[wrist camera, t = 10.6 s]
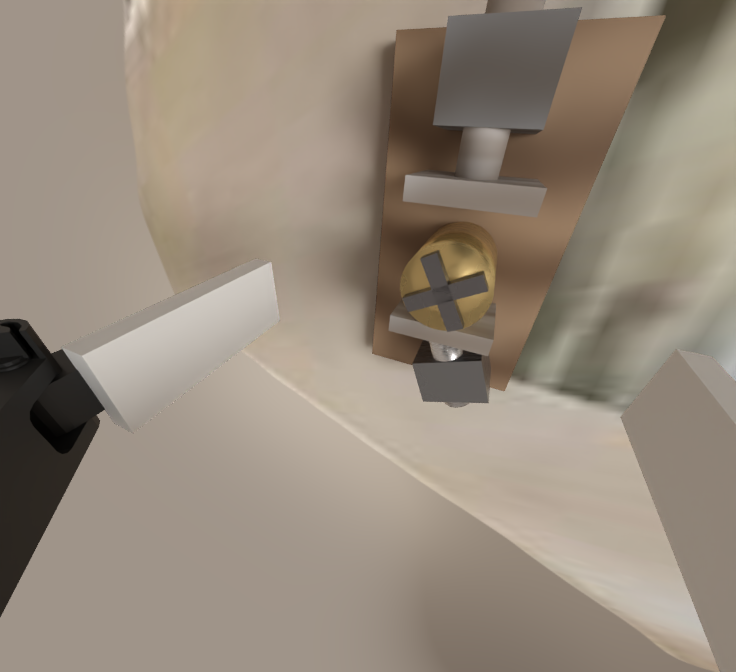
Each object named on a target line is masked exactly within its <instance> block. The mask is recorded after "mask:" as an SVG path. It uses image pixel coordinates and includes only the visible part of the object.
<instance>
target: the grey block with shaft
mask: <svg viewBox="0 0 736 672" xmlns="http://www.w3.org/2000/svg"><path fill="white" fill-rule="evenodd" d="M412 364H413V368H414V371H415V375H416V378H417V382H418V385H419V389H420V392H421V396H422V399H423V401H427V402H445V404H446V405H448V406H450V407H463V406H465V405H467V404H469V403H489V390H490V376H491V365H490V358H489V355H488V356H485V355H481V354H477V353H473V352H469V351H465V350H461V349H457V348H454V347H450V346H446V345H442V344H438V343H434V342H430V341H426V340H423V341H422V343H421V345H420V348H419V350H418V352H417V354H416V356H415V359H414V361H413V363H412Z"/></svg>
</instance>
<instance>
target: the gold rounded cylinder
mask: <svg viewBox="0 0 736 672" xmlns="http://www.w3.org/2000/svg"><path fill="white" fill-rule="evenodd" d="M496 266H497V248H496V244H495V242H494V240H493V238H492V236H491V235H490V234H489V233H488V232H487V231H486V230H485V229H484V228H482V227H481V226H479V225H477V224H474V223H471V222H463V221H462V222H454V223H450V224H447V225H445V226H443V227H441V228H440V229H438V230H437V231H436V232H435V233H434V234H433V235H432V236H431V237H430V238H429V240H428V241H427V242H426V243H425V244H424V245H423V246H422V247H421V249H420V250H419V251H418V252H417V253H416V254H415V255H414V256H413V258H412V259H411V260H410V261H409V262H408V264H407V265H406V267H405V269H404V271H403V273H402V276H401V281H400V292H401V297H402V300H403V303H404V305H405V307H406V309H407V311H408V312H409V313H410V314H411V315H412V316H413V317H414V318H415V319H416V320H417V321H419V322H420V323H422V324H423V325H425V326H427V327H430V328H433V329H436V330H441V331H447V332H451V331H455V330H460V329H464V328H466V327H469V326H471V325H473V324H474V323H476V322H477V321H478V320H480V319H481V318H482V317H483V316H484V315H485V313H486V312H487V311H488V309H489V307H490V305H491V303H492V300H493V296H494V287H495V276H496Z"/></svg>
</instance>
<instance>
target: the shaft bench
mask: <svg viewBox="0 0 736 672" xmlns="http://www.w3.org/2000/svg"><path fill="white" fill-rule="evenodd" d="M544 3H545V0H488V2H487V7H486V12H485V14H473V15H458V16H448V22H447V27H443V28H425V29H407V30H397V32H396V45H395V59H394V72H393V85H392V98H391V111H390V125H389V138H388V151H387V164H386V177H385V191H384V204H383V217H382V230H381V243H380V257H379V270H378V283H377V296H376V309H375V323H374V336H373V349H372V354H376V355H379V356H383V357H386V358H390V359H393V360H397V361H400V362H404V363H407V364H411V365H413V364H412V363H413V361H414V359H415V356H416V354H417V352H418V350H419V348H420V345H421V343H422V341H423V340H426V341H430V342H434V343H438V344H442V345H446V346H450V347H454V348H457V349H461V350H465V351H469V352H473V353H477V354H481V355H485V356H488V355H489V358H490V365H491V376H490V387H491V388H494V389H498V390H501V391H505V389H506V387H507V384H508V382H509V380H510V377H511V375H512V373H513V370H514V368H515V366H516V363H517V361H518V359H519V356H520V354H521V352H522V349H523V347H524V345H525V342H526V340H527V338H528V335H529V333H530V331H531V328H532V326H533V324H534V321H535V319H536V317H537V314H538V312H539V310H540V307H541V305H542V303H543V300H544V298H545V296H546V293H547V291H548V289H549V287H550V284H551V282H552V280H553V277H554V275H555V273H556V270H557V268H558V266H559V263H560V261H561V259H562V256H563V254H564V252H565V249H566V247H567V245H568V242H569V240H570V238H571V235H572V233H573V231H574V228H575V226H576V224H577V221H578V219H579V217H580V214H581V212H582V210H583V207H584V205H585V203H586V200H587V198H588V196H589V193H590V191H591V189H592V187H593V184H594V182H595V180H596V177H597V175H598V173H599V170H600V168H601V166H602V163H603V161H604V159H605V156H606V154H607V152H608V149H609V147H610V145H611V142H612V140H613V138H614V135H615V133H616V131H617V128H618V126H619V124H620V121H621V119H622V117H623V114H624V112H625V110H626V107H627V105H628V103H629V100H630V98H631V96H632V93H633V91H634V89H635V86H636V84H637V82H638V80H639V77H640V75H641V73H642V70H643V68H644V66H645V63H646V61H647V59H648V56H649V54H650V52H651V49H652V47H653V45H654V42H655V40H656V38H657V35H658V33H659V31H660V28H661V26H662V24H663V21H664V19H665V17H666V15H664V16H645V17H627V18H608V19H590V20H578V19H579V16H580V13H581V10H582V7H580V8H565V9H550V10H543V7H544ZM462 221H463V222H471V223H474V224H477V225H479V226H481V227H482V228H484V229H485V230H486V231H487V232H488V233H489V234H490V235H491V236H492V238H493V240H494V242H495V244H496V248H497V266H496V276H495V287H494V296H493V300H492V303H491V305H490V307H489V309H488V311H487V312H486V313H485V315H484V316H483V317H482V318H481V319H480V320H478V321H477V322H476V323H474V324H473V325H471V326H469V327H466V328H464V329H460V330H455V331H451V332H447V331H441V330H436V329H433V328H430V327H427V326H425V325H423V324H422V323H420V322H419V321H417V320H416V319H415V318H414V317H413V316H412V315H411V314H410V313H409V312H408V311H407V309H406V307H405V305H404V303H403V300H402V297H401V292H400V281H401V276H402V273H403V271H404V269H405V267H406V265H407V264H408V262H409V261H410V260H411V259H412V258H413V256H414V255H415V254H416V253H417V252H418V251H419V250H420V249H421V247H422V246H423V245H424V244H425V243H426V242H427V241H428V240H429V238H430V237H431V236H432V235H433V234H434V233H435V232H436V231H437V230H438V229H440V228H441V227H443V226H445V225H447V224H450V223H454V222H462Z"/></svg>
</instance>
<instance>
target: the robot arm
mask: <svg viewBox="0 0 736 672" xmlns="http://www.w3.org/2000/svg"><path fill="white" fill-rule="evenodd" d="M279 321H280V317H279V310H278V304H277V297H276V290H275V284H274V277H273V271H272V264H271V262H270V261H266V260H261V259H256V258H255V259H253V260H251V261H249V262H246V263H244V264H242V265H240V266H238V267H235V268H233V269H231V270H229V271H227V272H224V273H222V274H220V275H218V276H216V277H213V278H211V279H209V280H207V281H205V282H202V283H200V284H198V285H196V286H194V287H191V288H189V289H187V290H185V291H183V292H180V293H178V294H176V295H174V296H172V297H170V298H167V299H165V300H163V301H161V302H158V303H156V304H154V305H152V306H150V307H147V308H145V309H143V310H141V311H139V312H136V313H134V314H132V315H130V316H128V317H125V318H123V319H121V320H119V321H117V322H114V323H112V324H110V325H108V326H106V327H104V328H101V329H99V330H97V331H95V332H92V333H90V334H88V335H86V336H84V337H81V338H79V339H77V340H75V341H73V342H70V343H68V344H66V345H64V346H62V347H61V348H62V350H59V351H57V352H54V353H50V351H49V350H48V349H47V347H46V346H45V345H44V343H43V342H42V341H41V339H40V338H39V336H38V335H37V334H36V332H35V331H34V330H33V328H32V327H31V326H30V324H29V323H28V322H27V321H26V320H21V319H5V320H0V617H1V615H2V613H3V611H4V609H5V607H6V605H7V603H8V601H9V599H10V597H11V595H12V594H13V592H14V590H15V588H16V586H17V584H18V582H19V580H20V578H21V576H22V574H23V572H24V570H25V569H26V567H27V565H28V563H29V561H30V559H31V557H32V555H33V553H34V551H35V549H36V547H37V545H38V543H39V542H40V540H41V538H42V536H43V534H44V532H45V530H46V528H47V526H48V524H49V522H50V520H51V518H52V516H53V514H54V512H55V510H56V509H57V506H58V505H59V503H60V501H61V499H62V497H63V495H64V493H65V491H66V489H67V487H68V485H69V483H70V482H71V480H72V478H73V476H74V474H75V472H76V470H77V468H78V466H79V464H80V462H81V460H82V458H83V456H84V454H85V453H86V451H87V449H88V447H89V445H90V443H91V441H92V439H93V437H94V435H95V433H96V431H97V429H98V427H99V424H100V420H99V418H98V417H97V414H99V413H100V412H102V411H103V410H105V411H106V412H107V414H108V415H109V416H110V418H111V419H112V421H113V422H114V424H116V425H118V426H120V427H122V428H124V429H126V430H128V431H130V432H132V433H134V432H135V431H137V430H138V429H139V428H141V427H142V426H143V425H145V424H146V423H147V422H148V421H150V420H151V419H152V418H154V417H155V416H156V415H158V414H159V413H160V412H161V411H163V410H164V409H165V408H167V407H168V406H169V405H171V404H172V403H173V402H175V401H176V400H177V399H178V398H180V397H181V396H182V395H184V394H185V393H186V392H188V391H189V390H190V389H191V388H193V387H194V386H195V385H197V384H198V383H199V382H201V381H202V380H203V379H204V378H206V377H207V376H208V375H210V374H211V373H212V372H214V371H215V370H216V369H217V368H219V367H220V366H221V365H223V364H224V363H225V362H227V361H228V360H229V359H231V358H232V357H233V356H234V355H236V354H237V353H238V352H240V351H241V350H242V349H244V348H245V347H246V346H247V345H249V344H250V343H251V342H253V341H254V340H255V339H257V338H258V337H259V336H260V335H262V334H263V333H264V332H266V331H267V330H268V329H270V328H271V327H272V326H273V325H275V324H276V323H277V322H279ZM621 419H622V422H623V425H624V427H625V430H626V432H627V435H628V437H629V440H630V442H631V445H632V448H633V450H634V453H635V455H636V458H637V460H638V463H639V466H640V468H641V471H642V473H643V476H644V478H645V481H646V483H647V486H648V489H649V491H650V494H651V496H652V499H653V501H654V504H655V507H656V509H657V512H658V514H659V517H660V519H661V522H662V524H663V527H664V530H665V532H666V535H667V537H668V540H669V542H670V545H671V548H672V550H673V553H674V555H675V558H676V560H677V563H678V565H679V568H680V571H681V573H682V576H683V578H684V581H685V583H686V586H687V589H688V591H689V594H690V596H691V599H692V601H693V604H694V606H695V609H696V612H697V614H698V617H699V619H700V622H701V624H702V627H703V630H704V632H705V635H706V637H707V640H708V642H709V645H710V647H711V650H712V653H713V655H714V658H715V660H716V663H717V665H718V668H719V671H720V672H736V382H735V380H734V379H733V378H732V377H731V376H730V375H729V374H728V373H727V372H726V371H725V370H724V369H723V368H722V366H721V365H720V364H719V363H718V362H717V361H716V360H715V359H714V358H713V357H711V356H707V355H702V354H697V353H693V352H688V351H683V350H679V349H676V350H675V351H674V352H673V353H672V355H671V356H670V357H669V358H668V360H667V361H666V362H665V363H664V365H663V366H662V367H661V368H660V369H659V371H658V372H657V373H656V374H655V376H654V377H653V378H652V379H651V380H650V382H649V383H648V384H647V385H646V387H645V388H644V389H643V390H642V391H641V393H640V394H639V395H638V396H637V398H636V399H635V400H634V401H633V402H632V404H631V405H630V406H629V407H628V409H627V410H626V411H625V412H624V413H623V415H622V416H621Z"/></svg>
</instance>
